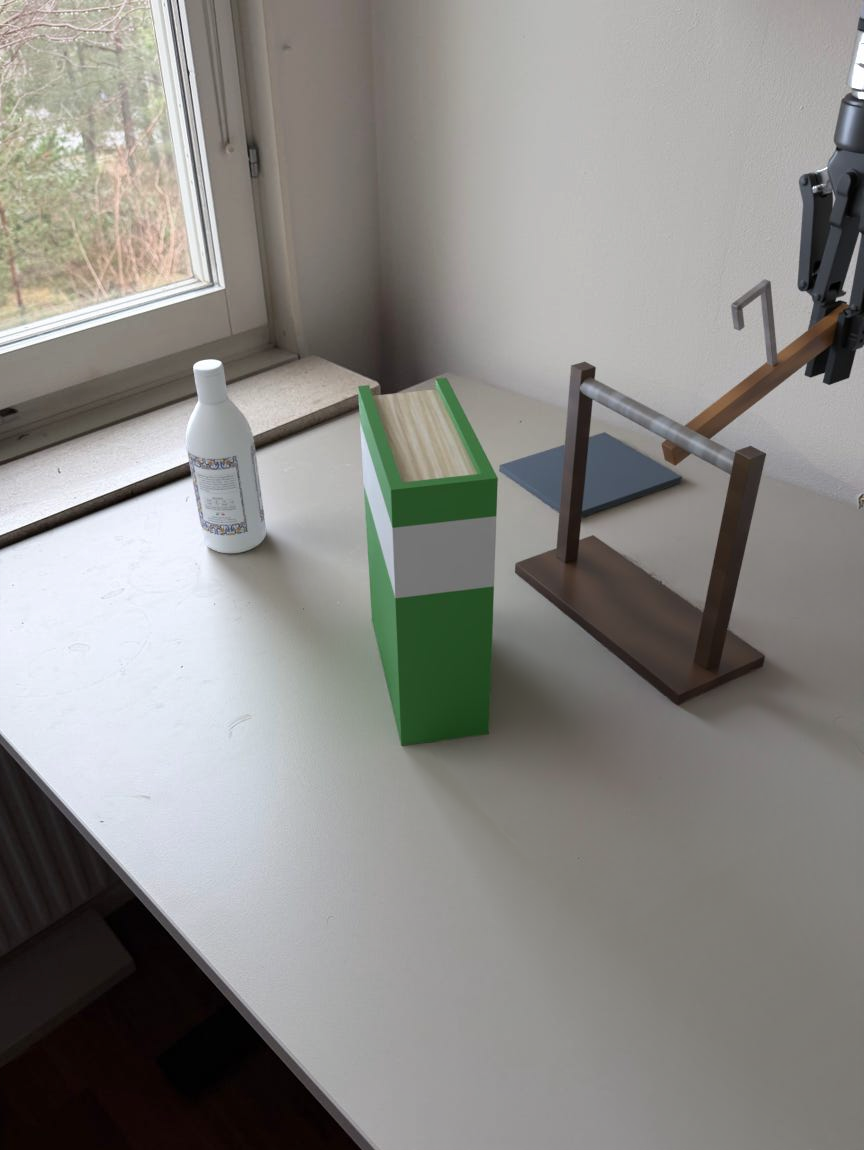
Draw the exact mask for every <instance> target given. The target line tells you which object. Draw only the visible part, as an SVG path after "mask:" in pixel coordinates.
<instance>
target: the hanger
mask: <svg viewBox="0 0 864 1150" xmlns="http://www.w3.org/2000/svg"><path fill="white" fill-rule="evenodd" d="M759 297H760V305H761V313H762V315H761V316H762V324H763V325H762V326H763V334H764V344H765V345H764V346H765V355H766V362H765V363H763V364H762V365H761V366H759V367H758V368H756V370H755V371H753V372H752V373H750V374H749V375H748V376H747V377H745V378H744V379H743V380H742V381H740V382H739V383H737V384H736V385H735V386H734V387H733V388H731V389H729V390H728V391H727V392H726V393H724V394H723V395H722V396H721V397H720V398H718V399H717V400H715V402H713V403H712V404H711V405H709V406H708V407H706V408H705V409H703V411H702V412H700V413H699V414H698V415H697V416H695V417H694V418H692V419H691V420H690V421H689V422H687V423H686V424H685V425H684V426H685V427H687V428H689V429H691V430H693V431H695V432H697V433H699V434H701V435H703V436H704V437H706V438H708V439H710V440H712V438H713V437H715V436H716V435H717V434H718V433H719V432H721V431H722V430H724V429H725V428H726V427H727V426H729V425H730V424H731V423H733V422H734V421H735V420H737V419H738V418H739V417H740V416H741V415H742V414H744V413H745V412H746V411H748V410H749V409H751V407H753V406H754V405H756V404H757V403H759V401H761V400H763V398H765V397H766V396H767V395H769V394H770V393H772V391H773V390H775V389H776V388H777V387H779V386H780V385H781V384H783V383H784V382H786V380H788V379H789V378H790V377H791V376H792V375H794V374H795V373H796V372H798V371H799V370H800V369H802V368H803V367H804V366H806V365H807V363H808V362H809V361H810V360H812V359H813V358H814V357H816V356H817V355H818V354H819V353H821V352H822V351H823V350H825V349H826V348H827V347H828V346H830V345H831V344H832V342H833V338H834V334H835V329H836V325H837V319H838V315H839V313H840V312H843V309H846V308H849V303H847V304H845V303H842V304H841V305H840V306H838V307H837V308H836V309H835V310H833V311H832V312H831V313H829V314H828V315H827V316H825V317H824V318H823V319H822V320H820V321H819V322H818V323H816V324H815V325H814V326H813V327H811V328H810V329H809V330H808V329H807V330H806V331H805V332H803V333H802V334H801V335H800V336H798V337H797V338H796V339H795V340H793V341H792V342H790V343H789V344H788V345H787V346H785V347H784V348H783V349H781V350H780V351H779V352H778V350H777V349H778V347H777V339H776V327H775V316H774V306H773V305H774V304H773V296H772V283H771V281H770V280H769V279H765V278H764V279H762V280H761V281H760V282H758V283H757V284H756V285H755V286H753V287H752V288H751V289H749V290H748V291H747V292H745V293H744V294H742V295H741V296H740V297H739V298H737V299H736V300H735V301H734V302H732V303H731V304H730V309H731V317H732V325H733V326H732V327H733V329H734V330H737V331H739V332H740V331H741V330H743V329H744V328H745V320H744V319H745V318H744V311H743V309H744V308H745V307H747V306H748V305H750V304H751V303H752V302H753V301H754V300H756V299H757V298H759ZM661 448H662V455H663V458H664V461H666V462H667V463H670V464H671V465H673V466H678V464H680V463H681V462H682V461H684V460H685V459H686V458H688V457H689V456H690V455H692V453H690V452H688V451H686V450H684V449H682V448H681V447H679V446H677V445H675V444H673V443H671V442H670V441H668V440H666V439H664V441H662V442H661Z"/></svg>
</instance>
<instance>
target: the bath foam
mask: <svg viewBox="0 0 864 1150" xmlns="http://www.w3.org/2000/svg"><path fill="white" fill-rule="evenodd" d="M192 368H193V369H192V370H193V374H194V375H193V376H194V382H195V388H196V393H197V398H198V401H197V403H196V405H195V407H194V409H193V411H192V413H191V415H190V418H189V421H188V423H187V427H186V434H185V444H186V447H185V448H186V452H187V458H188V463H189V469H190V475H191V481H192V486H193V490H194V496H195V501H196V508H197V513H198V518H199V523H200V524H199V525H200V527H201V534H202V538H203V542H204V544H205V546H207V547H208V548H209V549H211V550H213V551H215V552H218V553H221V554H239V553H244V552H248V551H251V550H253V549H254V548H256V547H258V546H259V545H261V543H263V541H264V539H266V535H267V526H266V519H265V510H264V503H263V495H262V489H261V481H260V473H259V465H258V459H257V451H256V445H255V443H256V442H255V438H254V435H253V431H252V427H251V425H250V423H249V421H248V420H247V417H245V414H243V412H242V411H241V410H240V408H239V407H238V406H237V404H235V402H233V401H232V400H231V399H230V398H229V396H228V390H227V382H226V376H225V375H226V374H225V368H224V365H223V362H222V361H221V360H218V359H203V360H199V361H197V362H195V363H194V364H193V367H192Z"/></svg>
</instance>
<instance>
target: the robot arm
mask: <svg viewBox="0 0 864 1150" xmlns="http://www.w3.org/2000/svg"><path fill="white" fill-rule="evenodd" d="M847 69H848V70H847V73H846V79H845V85H846V87H847V88H848V89H850V90H851V92H848V93H846V94H845V95H844V97H843V98H842V99H841V100H840V105H839V111H838V116H837V119H836V124H835V129H834V134H833V144H834V145H835V149H834V152H833V153H832V155H831V157H830V158H829V159H828V161H827V165H826V166H825V167H822V168H821V169H819V170H816V171H812V172H808V173H803V174H802V175H801V176H800V177H799V179H798V186H799V191H800V195H801V200H802V212H801V213H802V214H801V226H800V227H801V228H800V242H799V257H798V272H797V289H798V290H799V291H800V292H806V293H807V294H808V295H809V296H811V301H812V302H813V304H812V309H811V314H810V319H809V324H808V327H807V330H809V329H810V328H811V327H813V326H814V325H815V324H816V323H818V322H819V321H820V320H822V319H823V318H824V317H825V316H827V315H828V314H829V313H831V312H832V311H833V310H835V309H836V308H837V307H838V306H840V305H841V304H842V303H845V304H848V305H849V308H846V309H843V312H840V313H839V315H838V319H837V325H836V329H835V334H834V338H833V342H832V344H831V345H830V346H828V347H827V348H826V349H825V350H823V351H822V352H821V353H819V354H818V355H817V356H816V357H814V358H813V359H812V360H810V361H809V362H808V363H807V364H805V369H804V375H803V376H805V377H807V378H810V379H812V378H815V377H817V376H819V375H823V379H822V384H825V385H828V386H831V385H833V384H836V383H839V382H842V381H844V380H848V379H850V377H851V372H852V368H853V365H854V360H855V357H856V353H857V350H859V349H862V348H863V347H864V0H862V3H861V9H860V15H859V18H858V23H857V27H856V32H855V37H854V41H853V46H852V51H851V56H850V60H849V64H848V68H847ZM859 236H860V241H859V245H858V252H857V258H856V264H855V269H854V273H853V274H854V275H853V281H852V286H851V292H850V298H849V303H848V302H847V301H844V300H841V299H840V300H839V299H838V298H841V297H844V296H845V295H846V294H847V291H845V290H843V288H844V285H845V281H846V279H847V275H848V272H849V269H850V265H851V261H852V258H853V255H854V252H855V250H856V249H855V248H856V245H857V242H858V238H859ZM837 299H838V300H837Z"/></svg>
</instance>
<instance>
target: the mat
mask: <svg viewBox="0 0 864 1150" xmlns="http://www.w3.org/2000/svg"><path fill="white" fill-rule="evenodd" d="M564 448H565V444H562V445H559V446H556V447H553V448H549V449H547V450H543V451H540V452H537V453H533V454H531V455H527V456H524V457H521V458H518V459H517V458H516V459H514V460H512V461H508V462H505V463H502V464H499V465H498V467H499V468H498V470H499V472H500V473H502V474H503V475H505V476H506V477H508V478H509V479H510V480H512V481H513V482H514V483H516V484H518V485H519V486H520V487H522V488H523V489H524V490H526V491H528V492H529V493H530V494H531V495H533V496H534V497H536V498H538V499H539V500H540V501H541V502H543V503H544V504H546V505H547V506H549V507H550V508H552V509H553V510H555V511H556V512H557V513H559V511H560V498H561V486H562V473H563V461H564ZM682 479H683V476H682V475H680V474H678V473H676V472H675V471H673V470H671V469H669V468H668V467H666V466H664V465H663V464H661V463H659V462H657V461H656V460H655V459H652V458H651V457H649V456H648V455H645V454H644V453H642V452H640V451H638V450H637V449H635V448H634V447H631V446H630V445H628V444H627V443H625V442H623V441H622V440H619V439H618V438H616V437H614V436H612V435H611V434H608V433H607V432H606V431H604V432H601V433H597V434H594V435H591V436H589V444H588V455H587V465H586V476H585V486H584V496H583V507H582V517H581V518H583V517H586V516H589V515H592V514H594V513H598V512H600V511H603V510H606V509H609V508H612V507H615V506H618V505H620V504H623V503H626V502H628V501H632V500H635V499H637V498H640V497H643V496H646V495H648V494H652V493H654V492H657V491H660V490H663V489H666V488H669V487H672V486H675V485H677V484H680V483H682Z"/></svg>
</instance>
